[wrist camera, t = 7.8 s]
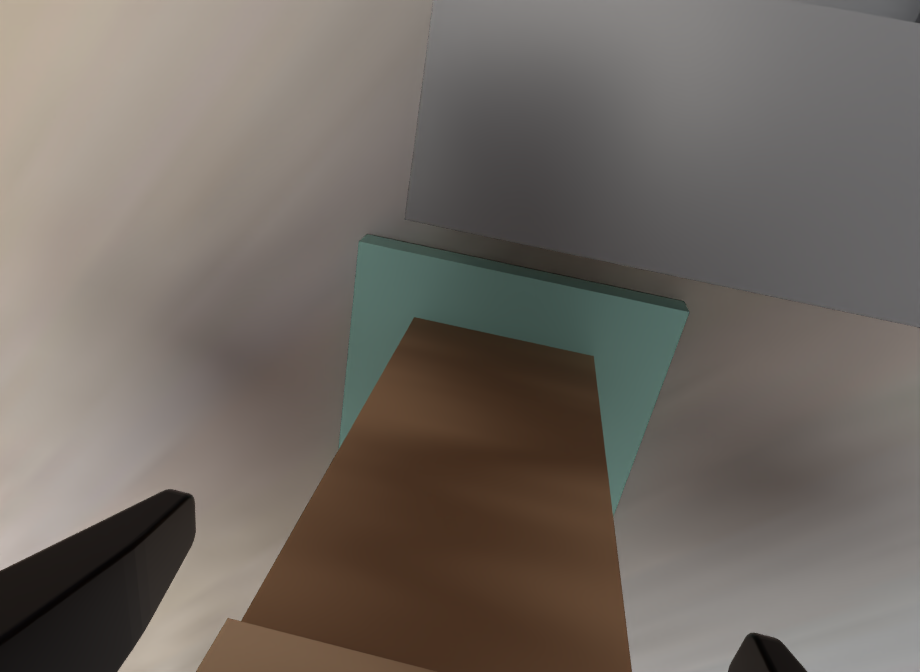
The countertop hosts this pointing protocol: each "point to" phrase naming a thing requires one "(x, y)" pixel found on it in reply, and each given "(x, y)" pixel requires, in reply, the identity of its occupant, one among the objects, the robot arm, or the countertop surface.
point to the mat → (516, 329)
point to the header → (685, 140)
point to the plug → (451, 526)
